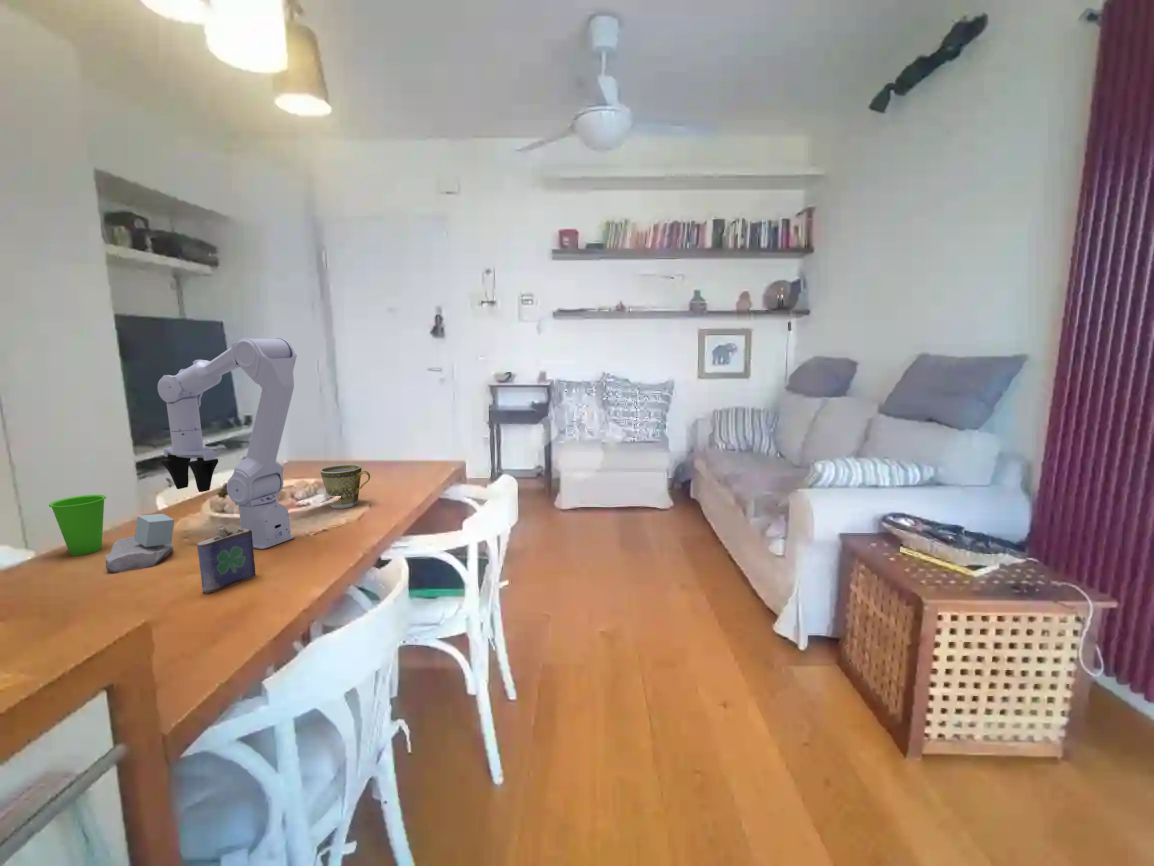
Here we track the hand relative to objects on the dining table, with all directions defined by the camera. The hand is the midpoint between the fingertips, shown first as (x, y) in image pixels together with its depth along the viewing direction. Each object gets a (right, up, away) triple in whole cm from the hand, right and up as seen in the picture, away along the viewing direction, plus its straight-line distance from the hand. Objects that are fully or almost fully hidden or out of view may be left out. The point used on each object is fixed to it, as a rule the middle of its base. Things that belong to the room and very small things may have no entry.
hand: (193, 489), depth 129 cm
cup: (-17, -12, -8) cm, 23 cm away
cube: (+1, -9, -14) cm, 16 cm away
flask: (+24, -15, -26) cm, 38 cm away
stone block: (-1, -13, -13) cm, 19 cm away
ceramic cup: (+26, -7, +23) cm, 35 cm away
